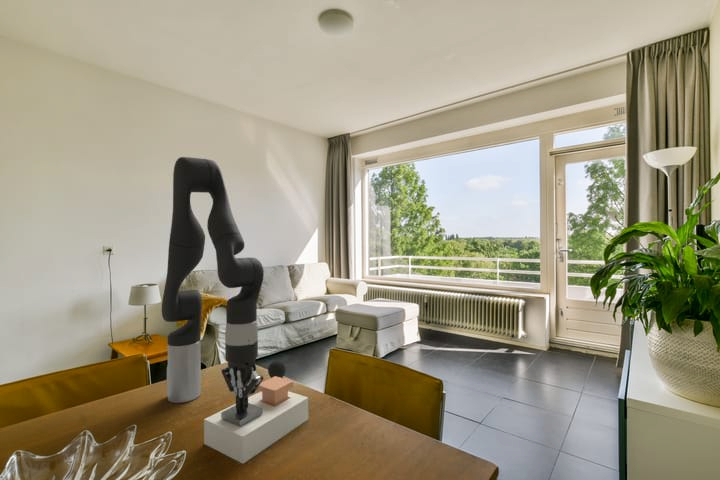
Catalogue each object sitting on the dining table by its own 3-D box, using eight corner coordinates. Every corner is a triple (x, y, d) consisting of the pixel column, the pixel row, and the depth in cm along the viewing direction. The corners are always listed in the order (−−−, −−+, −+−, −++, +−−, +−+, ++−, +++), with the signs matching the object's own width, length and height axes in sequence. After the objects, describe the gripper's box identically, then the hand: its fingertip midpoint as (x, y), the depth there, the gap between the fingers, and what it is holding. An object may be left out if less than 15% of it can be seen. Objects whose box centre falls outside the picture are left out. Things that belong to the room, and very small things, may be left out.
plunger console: (204, 443, 84) (204, 419, 84) (271, 406, 102) (271, 386, 102) (243, 463, 76) (242, 436, 76) (308, 419, 95) (308, 397, 95)
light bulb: (281, 396, 109) (281, 364, 109) (264, 394, 110) (264, 363, 110) (288, 388, 114) (288, 358, 114) (272, 386, 116) (272, 357, 115)
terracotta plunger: (256, 408, 93) (256, 384, 93) (275, 398, 99) (275, 376, 99) (275, 415, 89) (274, 390, 89) (293, 404, 95) (293, 381, 95)
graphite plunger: (221, 438, 83) (221, 412, 83) (244, 425, 89) (244, 401, 89) (239, 448, 80) (239, 420, 80) (262, 433, 86) (262, 408, 86)
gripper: (211, 339, 85) (211, 410, 85) (247, 348, 78) (247, 425, 78) (236, 332, 91) (236, 398, 91) (272, 339, 84) (272, 411, 84)
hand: (242, 410), depth 84 cm, fingers closed
